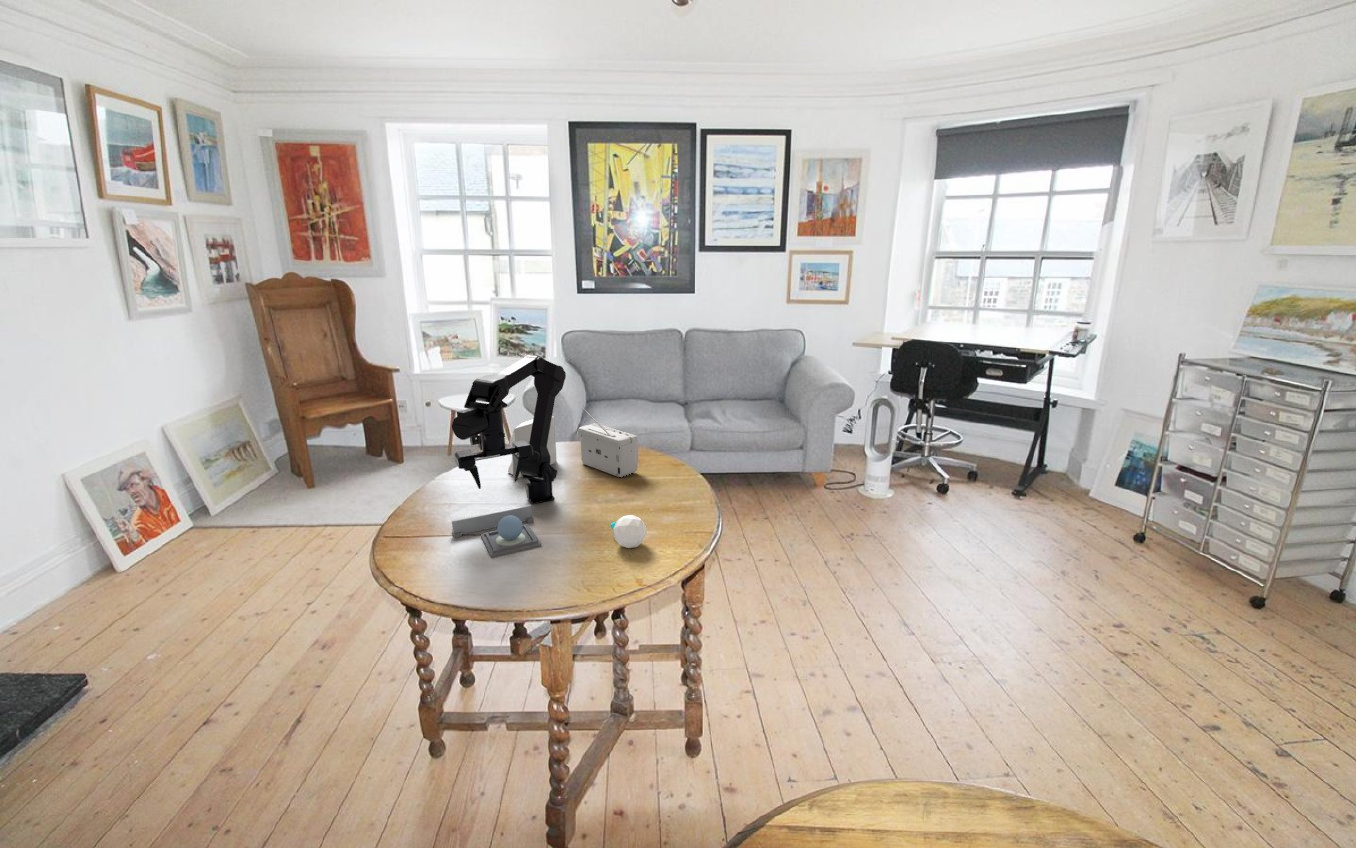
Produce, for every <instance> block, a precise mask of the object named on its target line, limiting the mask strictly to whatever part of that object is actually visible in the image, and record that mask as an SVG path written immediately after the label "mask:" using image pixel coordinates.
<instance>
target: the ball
mask: <svg viewBox="0 0 1356 848" xmlns="http://www.w3.org/2000/svg"><path fill="white" fill-rule="evenodd" d="M522 525H523V522H521V520H520V519H519V518H518V517H516V516H512V515H509V516H505V517H503V518H502V519H501V520H500V521H499V523H498V527H496V528H497V529H496V530H498V533H499V535H500V536H501V537H502V538H503V539H506V540H513V539H516V538H517V537H518V536H519V535H520V534H521V532H522V529H523V526H522Z"/></svg>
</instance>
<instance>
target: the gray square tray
mask: <svg viewBox="0 0 1356 848" xmlns="http://www.w3.org/2000/svg"><path fill="white" fill-rule="evenodd" d="M522 526H523V529H522V532H521V534H520V535H519V536H518V537H517V538H516V539H513V540H506V539H503V538H502V537H501V536H500V535H499V533H498V530H497V529H496V530H492V531H487V532H484V533H481V534H480V537H481V538H482V541H483V543H484V545H485V548H486V550H487V552H488V553H489V556H490V558H495V557H496V558H497V557H501V556H505V555H508V554H513V553H517V552H522V551H526V550H530V549H534V548H539V547H542V542H541V541H540V539H539V538H538V536H537V534H535V532H534V531H533V529H532V528H531V526H530V525H529V523H528V524H527V523H524V524H522Z"/></svg>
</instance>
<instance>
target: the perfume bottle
mask: <svg viewBox="0 0 1356 848" xmlns="http://www.w3.org/2000/svg"><path fill="white" fill-rule="evenodd" d="M610 528H611V529H612V530H613V538H614V540H615V541H616V542H617V544H618V545H619V546H621V547H624V548H626V549H631V548H633V549H634V548H637V547H639V546H640V545H641V544H642V543H643V542H644V540H645V538H646V535H647V527H646V523H644V521H643V520H642V519H641V518H640V517H638V516H636V515H634V514H630V515H628V514H627V515H623V516H622V517H621V518H619V519H617V520H616V521H613V522H611V523H610Z"/></svg>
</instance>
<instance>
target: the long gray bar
mask: <svg viewBox="0 0 1356 848" xmlns="http://www.w3.org/2000/svg"><path fill="white" fill-rule="evenodd" d="M532 509H533V508H532V504H530V503H529V504H525V505H524V504H523V505H520V506H514V507H508V508H503V509H499V510H494V511H487V512H483V513H478V514H473V515H469V516H468V515H467V516H463V517H459V518H458V517H457V518H452V519H451V532H452V535H453V537H454V539H457V538H458V539H459V538H462V535H465V534H470V533H474V532H478V531H485V530H490V529H494V528H497V527H498V523H499V521H500V520H501V519H502V518H503V517H505V516H509V515H512V516H516V517H518V518H519V519H520V520H521V522H522V523H523V522H526V523H528V524H529V523H533V522H534V521H535V520H534V517H533V510H532Z"/></svg>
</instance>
